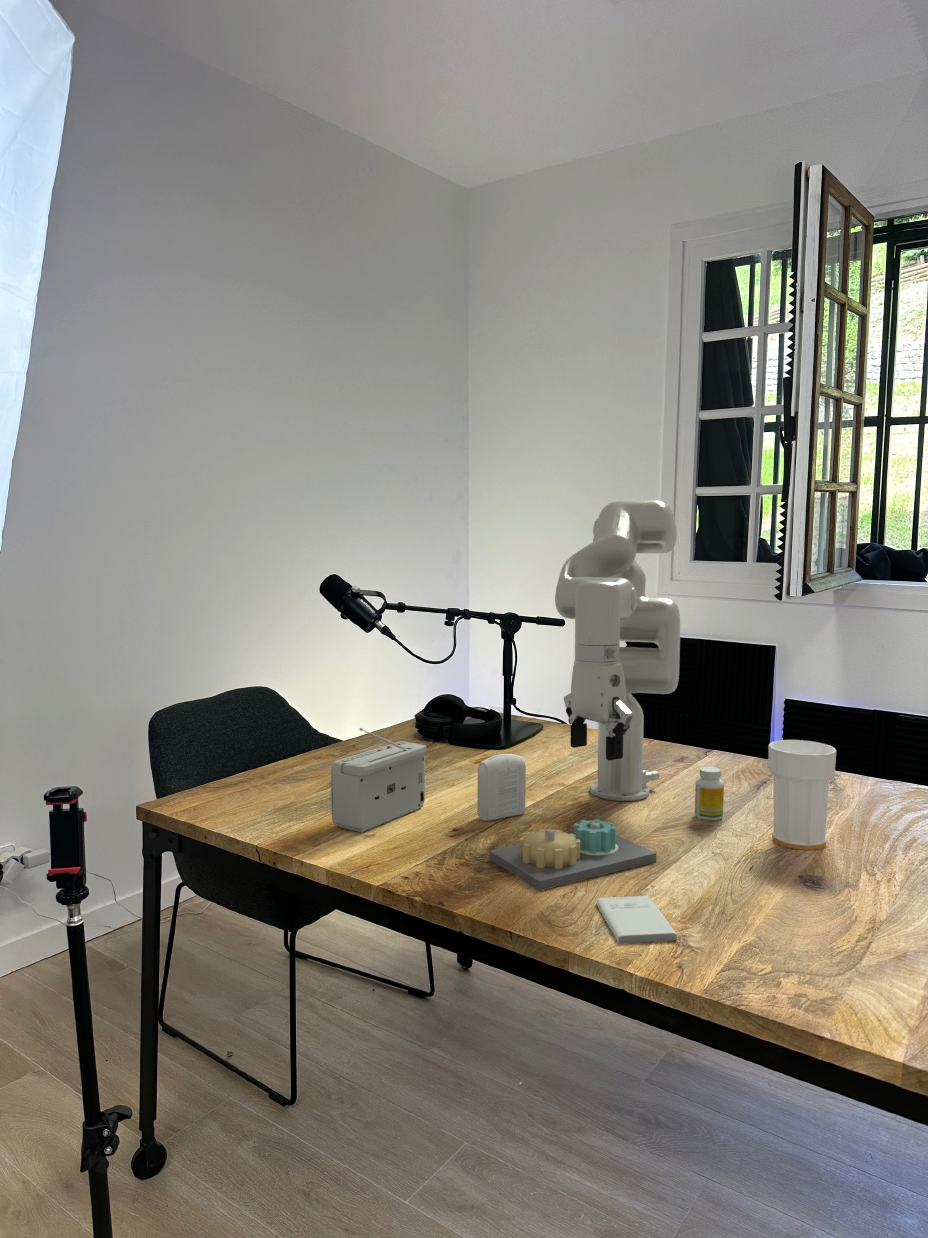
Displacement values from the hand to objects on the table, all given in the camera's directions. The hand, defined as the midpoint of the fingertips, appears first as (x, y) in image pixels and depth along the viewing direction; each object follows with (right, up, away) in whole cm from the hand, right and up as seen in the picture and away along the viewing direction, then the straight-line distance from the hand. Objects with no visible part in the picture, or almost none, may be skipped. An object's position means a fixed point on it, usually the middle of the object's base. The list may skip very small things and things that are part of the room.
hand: (595, 752), depth 146 cm
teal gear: (0, -16, +1) cm, 17 cm away
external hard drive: (+2, -21, -24) cm, 32 cm away
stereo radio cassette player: (-39, -17, +22) cm, 48 cm away
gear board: (-4, -18, -1) cm, 19 cm away
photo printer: (-15, -16, +23) cm, 32 cm away
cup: (+38, -18, +8) cm, 43 cm away
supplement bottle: (+26, -16, +22) cm, 37 cm away
